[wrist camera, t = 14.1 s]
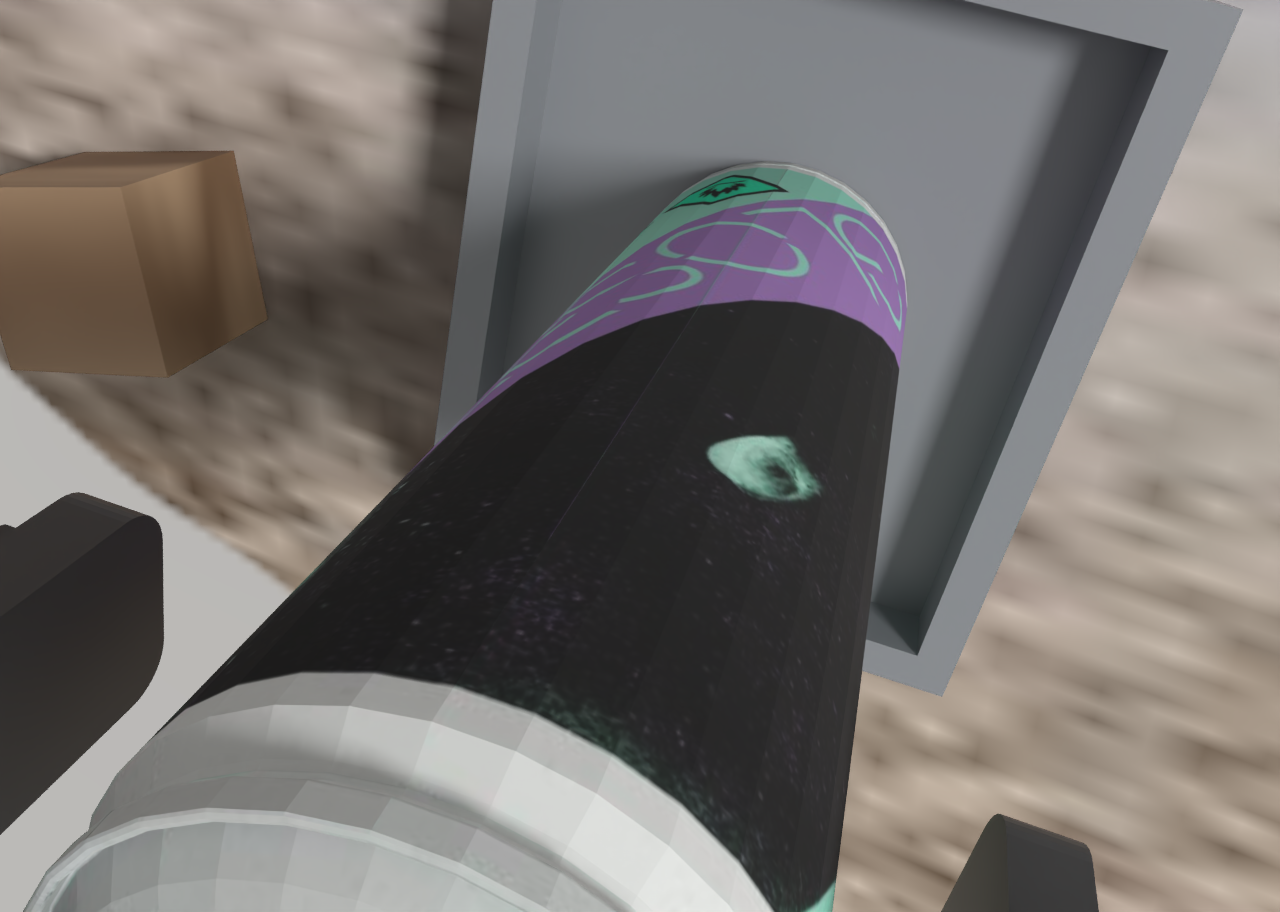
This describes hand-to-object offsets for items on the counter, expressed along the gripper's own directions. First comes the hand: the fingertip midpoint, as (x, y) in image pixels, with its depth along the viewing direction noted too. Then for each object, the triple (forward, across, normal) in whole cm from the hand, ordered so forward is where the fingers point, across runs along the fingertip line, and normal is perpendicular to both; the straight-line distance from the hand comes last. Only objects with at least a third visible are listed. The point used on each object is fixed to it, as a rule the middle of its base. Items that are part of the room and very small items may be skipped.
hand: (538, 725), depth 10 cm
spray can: (+14, 0, 0) cm, 14 cm away
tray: (+15, 0, 0) cm, 15 cm away
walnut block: (+15, +14, +4) cm, 21 cm away
